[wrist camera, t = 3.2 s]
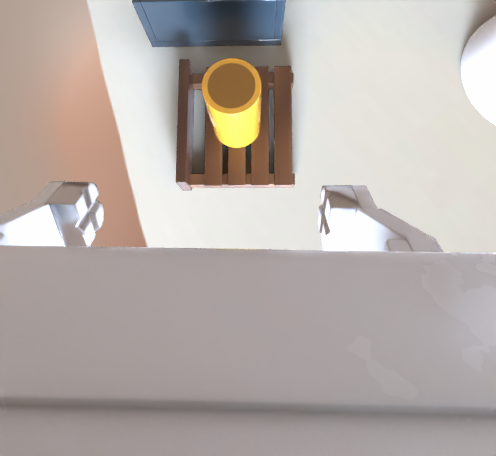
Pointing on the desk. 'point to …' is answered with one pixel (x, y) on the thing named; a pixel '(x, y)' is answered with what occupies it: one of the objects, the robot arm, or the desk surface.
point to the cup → (233, 101)
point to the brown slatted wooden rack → (237, 156)
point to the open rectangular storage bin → (211, 22)
